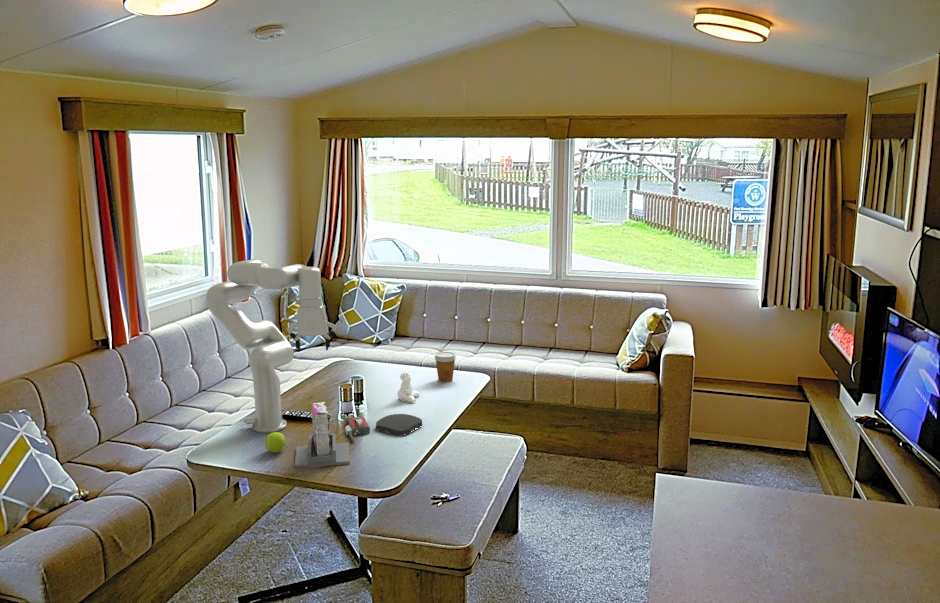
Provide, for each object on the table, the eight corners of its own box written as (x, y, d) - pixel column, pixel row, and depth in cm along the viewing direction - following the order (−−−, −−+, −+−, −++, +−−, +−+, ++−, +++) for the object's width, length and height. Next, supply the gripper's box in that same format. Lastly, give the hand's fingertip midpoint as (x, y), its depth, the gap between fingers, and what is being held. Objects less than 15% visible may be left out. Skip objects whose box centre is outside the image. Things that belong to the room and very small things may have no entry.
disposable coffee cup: (459, 378, 343) (459, 352, 340) (450, 384, 334) (450, 358, 332) (440, 375, 347) (440, 350, 344) (431, 382, 338) (430, 356, 336)
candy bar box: (312, 447, 265) (310, 402, 261) (327, 445, 266) (325, 401, 263) (316, 460, 254) (313, 413, 251) (331, 458, 256) (329, 412, 252)
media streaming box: (395, 418, 296) (395, 410, 296) (426, 425, 289) (426, 418, 288) (371, 430, 284) (371, 422, 284) (403, 438, 277) (402, 430, 276)
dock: (294, 468, 251) (293, 454, 250) (296, 449, 267) (296, 435, 265) (349, 464, 254) (349, 450, 253) (348, 445, 270) (348, 431, 269)
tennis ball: (266, 456, 260) (264, 437, 259) (265, 449, 267) (264, 430, 265) (286, 454, 262) (285, 435, 261) (285, 446, 269) (284, 428, 267)
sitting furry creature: (415, 403, 311) (414, 375, 308) (394, 402, 312) (393, 374, 310) (420, 396, 320) (419, 368, 318) (400, 395, 321) (399, 367, 319)
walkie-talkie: (341, 425, 289) (350, 445, 271) (340, 414, 288) (350, 433, 270) (364, 422, 292) (374, 441, 274) (363, 411, 291) (374, 430, 273)
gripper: (284, 306, 260) (287, 354, 263) (336, 303, 262) (338, 351, 266) (285, 301, 267) (288, 348, 270) (336, 299, 270) (338, 346, 273)
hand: (313, 350), depth 268 cm, fingers open, 9 cm apart
